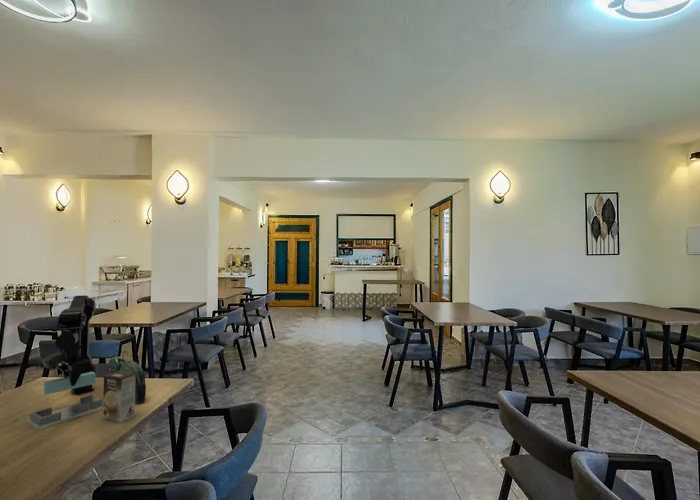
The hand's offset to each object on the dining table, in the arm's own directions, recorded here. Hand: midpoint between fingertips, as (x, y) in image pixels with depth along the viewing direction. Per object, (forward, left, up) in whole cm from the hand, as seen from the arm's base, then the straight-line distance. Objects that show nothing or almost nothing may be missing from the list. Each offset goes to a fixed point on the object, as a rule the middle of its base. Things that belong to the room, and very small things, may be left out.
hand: (70, 384), depth 135 cm
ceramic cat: (-19, +4, -11) cm, 23 cm away
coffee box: (-8, +19, -11) cm, 24 cm away
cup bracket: (0, 0, -11) cm, 11 cm away
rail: (0, 0, -1) cm, 1 cm away
